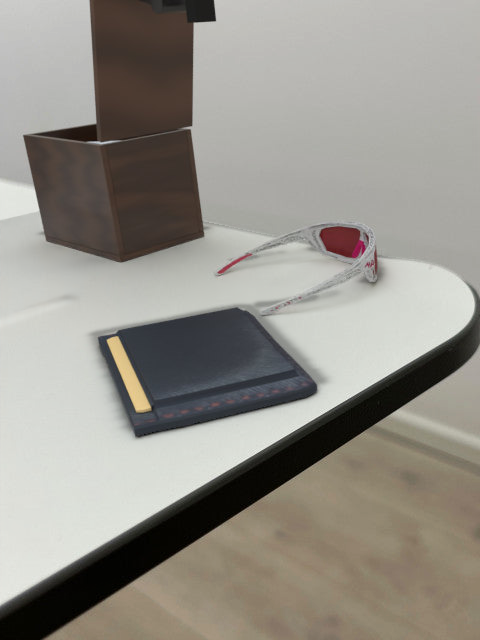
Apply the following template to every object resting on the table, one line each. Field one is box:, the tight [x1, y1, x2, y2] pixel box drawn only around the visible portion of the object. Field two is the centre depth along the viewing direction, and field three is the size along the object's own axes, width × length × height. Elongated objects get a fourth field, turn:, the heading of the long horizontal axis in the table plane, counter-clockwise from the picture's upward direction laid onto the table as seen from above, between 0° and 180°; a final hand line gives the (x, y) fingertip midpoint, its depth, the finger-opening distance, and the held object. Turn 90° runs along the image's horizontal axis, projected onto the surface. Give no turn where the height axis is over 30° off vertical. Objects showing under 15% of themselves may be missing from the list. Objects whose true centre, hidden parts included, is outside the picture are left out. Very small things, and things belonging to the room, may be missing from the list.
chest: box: [22, 122, 205, 263], centre depth 103 cm, size 18×14×14 cm
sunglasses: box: [213, 220, 378, 316], centre depth 87 cm, size 17×17×5 cm
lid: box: [89, 0, 195, 143], centre depth 88 cm, size 18×14×7 cm
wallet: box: [97, 306, 318, 438], centre depth 67 cm, size 20×2×15 cm
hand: (201, 21), depth 81 cm, fingers closed
